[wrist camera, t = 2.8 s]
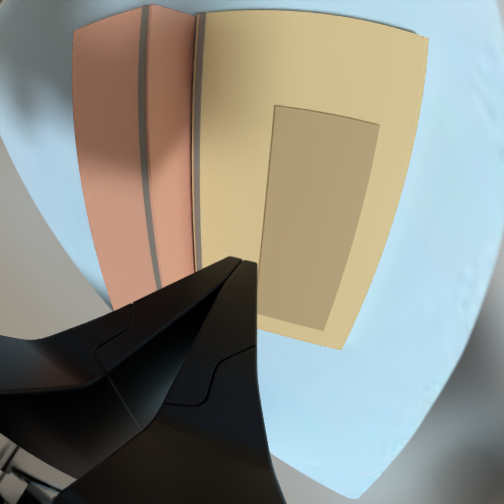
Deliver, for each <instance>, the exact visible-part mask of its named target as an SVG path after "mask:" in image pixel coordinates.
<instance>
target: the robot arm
mask: <svg viewBox="0 0 504 504" xmlns="http://www.w3.org/2000/svg"><path fill="white" fill-rule="evenodd" d="M257 285H258V264H257V263H256V262H253V261H249V260H242V259H241V258H237V257H233V256H228V257H226V258H224V259H222V260H220V261H218V262H215V263H213V264H211V265H209V266H207V267H205V268H203V269H201V270H199V271H196V272H194V273H192V274H190V275H188V276H186V277H184V278H182V279H180V280H178V281H176V282H173V283H171V284H169V285H167V286H165V287H163V288H161V289H159V290H157V291H155V292H153V293H150V294H148V295H146V296H144V297H142V298H140V299H138V300H136V301H134V302H133V304H132V303H129V304H127V305H125V306H123V307H121V308H119V309H117V310H115V311H112V312H110V313H108V314H106V315H104V316H101V317H99V318H97V319H94V320H91V321H89V322H86V323H84V324H81V325H78V326H76V327H73V328H70V329H68V330H65V331H62V332H60V333H57V334H54V335H51V336H49V337H45V338H42V339H37V340H24V339H18V338H12V337H7V336H2V335H0V504H287V503H286V500H285V498H284V495H283V493H282V490H281V487H280V485H279V482H278V480H277V477H276V474H275V471H274V468H273V465H272V460H271V456H270V452H269V446H268V441H267V435H266V430H265V424H264V418H263V412H262V406H261V400H260V393H259V385H258V374H257Z"/></svg>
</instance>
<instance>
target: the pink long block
mask: <svg viewBox="0 0 504 504" xmlns="http://www.w3.org/2000/svg"><path fill="white" fill-rule="evenodd" d="M195 27H196V17H195V16H192V15H189V14H186V13H183V12H179V11H176V10H172V9H169V8H165V7H161V6H158V5H153V4H152V5H145V6H142V7H140V8H137V9H133V10H130V11H126V12H123V13H120V14H117V15H114V16H111V17H108V18H105V19H102V20H100V21H97V22H94V23H92V24H89V25H86V26H84V27H82V28H79V29H77V30H74V34H73V53H72V96H73V116H74V129H75V140H76V149H77V157H78V165H79V171H80V178H81V184H82V190H83V196H84V201H85V206H86V211H87V216H88V220H89V225H90V229H91V234H92V238H93V242H94V246H95V250H96V254H97V257H98V261H99V265H100V268H101V272H102V275H103V278H104V282H105V285H106V288H107V291H108V294H109V297H110V300H111V303H112V306H113V309H114V311H115V310H117V309H119V308H121V307H123V306H125V305H127V304H129V303H132V304H133V302H134V301H136V300H138V299H140V298H142V297H144V296H146V295H148V294H150V293H153V292H155V291H157V290H159V289H161V288H163V287H165V286H167V285H169V284H171V283H173V282H176V281H178V280H180V279H182V278H184V277H186V276H188V275H190V274H192V273H194V272H195V262H194V244H193V222H192V190H191V107H192V77H193V57H194V40H195Z"/></svg>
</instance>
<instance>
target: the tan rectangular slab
mask: <svg viewBox="0 0 504 504" xmlns="http://www.w3.org/2000/svg"><path fill="white" fill-rule="evenodd" d="M428 43H429V38H426V37H424V36H421V35H417V34H414V33H411V32H408V31H404V30H401V29H397V28H394V27H390V26H386V25H382V24H378V23H373V22H369V21H364V20H359V19H354V18H348V17H342V16H335V15H328V14H320V13H311V12H299V11H281V10H240V11H222V12H210V13H206V12H205V13H199V14H198V16H197V28H196V42H195V58H194V79H193V110H192V191H193V224H194V247H195V265H196V271H199V270H201V269H203V268H205V267H207V266H209V265H211V264H213V263H215V262H218V261H220V260H222V259H224V258H226V257H228V256H233V257H237V258H241V259H242V260H249V261H253V262H256V263H257V264H258V285H257V329H261V330H264V331H268V332H271V333H275V334H279V335H282V336H286V337H290V338H294V339H297V340H301V341H305V342H309V343H313V344H317V345H321V346H325V347H330V348H334V349H338V350H342V348H343V346H344V344H345V342H346V340H347V338H348V335H349V333H350V331H351V329H352V327H353V325H354V322H355V320H356V318H357V316H358V313H359V311H360V309H361V306H362V304H363V302H364V299H365V297H366V294H367V292H368V289H369V287H370V285H371V282H372V279H373V277H374V274H375V272H376V269H377V266H378V264H379V261H380V258H381V255H382V253H383V250H384V247H385V244H386V241H387V238H388V235H389V232H390V229H391V226H392V223H393V220H394V217H395V213H396V210H397V207H398V203H399V200H400V196H401V193H402V189H403V186H404V182H405V178H406V174H407V170H408V166H409V162H410V158H411V154H412V149H413V145H414V140H415V135H416V131H417V125H418V120H419V115H420V109H421V103H422V96H423V90H424V82H425V74H426V65H427V55H428Z"/></svg>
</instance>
